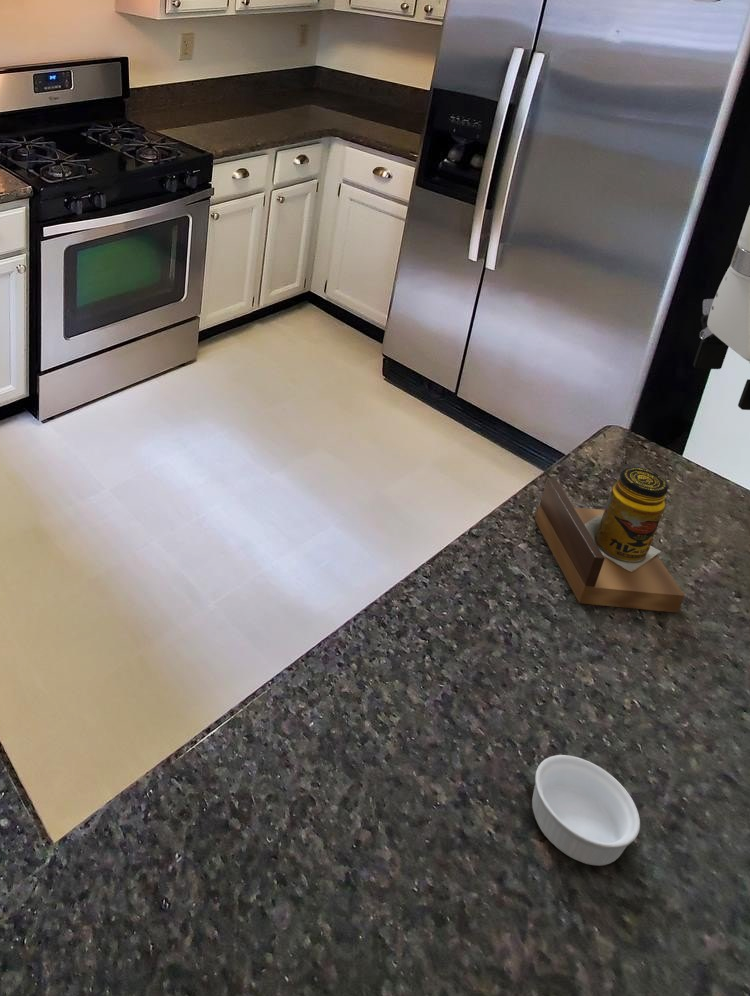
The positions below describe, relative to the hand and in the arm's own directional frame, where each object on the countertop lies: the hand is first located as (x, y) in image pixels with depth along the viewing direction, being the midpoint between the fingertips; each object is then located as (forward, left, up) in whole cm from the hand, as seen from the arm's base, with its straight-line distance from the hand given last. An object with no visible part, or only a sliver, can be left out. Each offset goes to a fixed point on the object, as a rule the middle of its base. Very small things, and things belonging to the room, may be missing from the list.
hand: (728, 387), depth 101 cm
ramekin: (+28, +41, -28) cm, 57 cm away
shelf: (+10, +3, -27) cm, 29 cm away
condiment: (+9, +3, -25) cm, 26 cm away
